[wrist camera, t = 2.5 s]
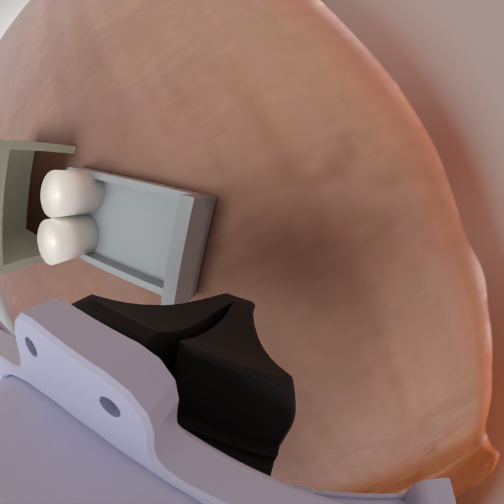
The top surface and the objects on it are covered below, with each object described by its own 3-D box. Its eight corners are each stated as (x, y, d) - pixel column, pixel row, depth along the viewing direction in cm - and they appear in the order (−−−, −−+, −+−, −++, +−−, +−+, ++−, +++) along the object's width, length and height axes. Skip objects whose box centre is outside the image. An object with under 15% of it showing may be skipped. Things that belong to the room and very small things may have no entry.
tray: (216, 197, 20) (181, 198, 14) (195, 295, 22) (160, 324, 16) (81, 167, 22) (38, 165, 17) (72, 243, 24) (31, 254, 19)
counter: (76, 146, 22) (-1, 139, 13) (62, 255, 25) (-8, 277, 16) (33, 142, 24) (-28, 139, 14) (23, 233, 27) (-35, 246, 17)
